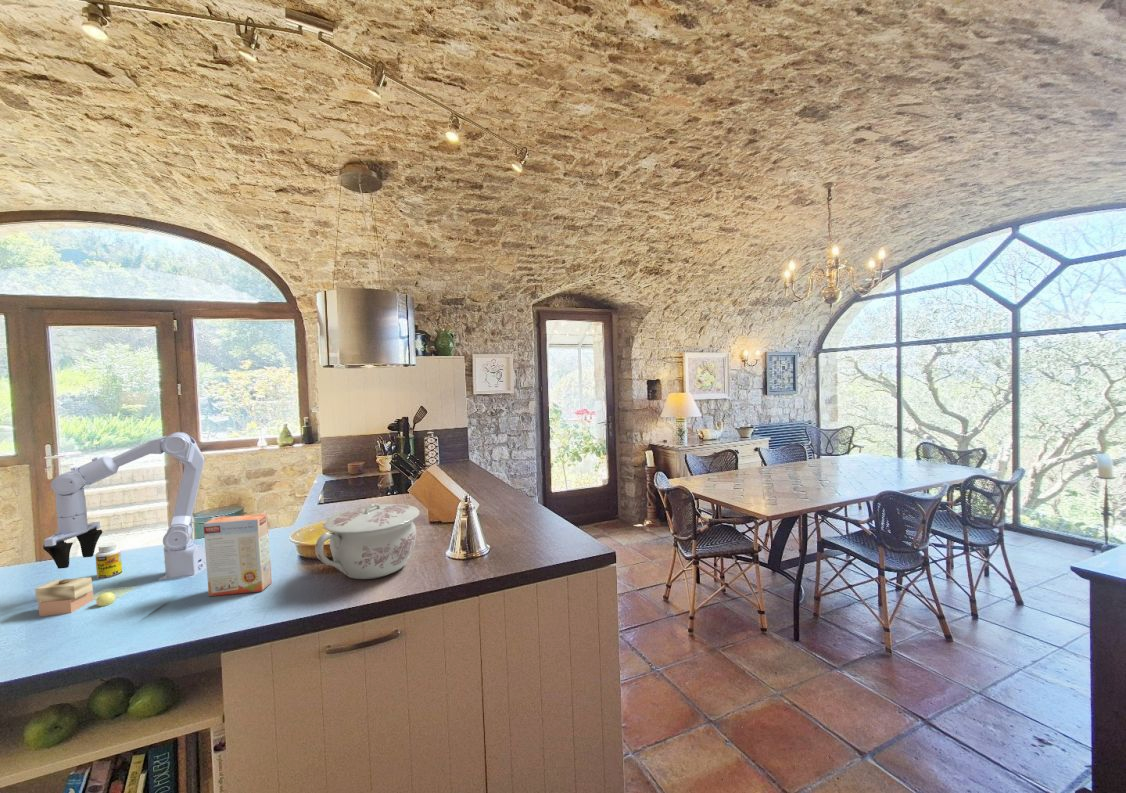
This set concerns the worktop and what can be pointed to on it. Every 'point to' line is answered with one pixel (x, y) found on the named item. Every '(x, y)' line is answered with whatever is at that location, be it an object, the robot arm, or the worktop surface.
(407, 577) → the worktop surface
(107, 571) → the supplement bottle
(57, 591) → the lid
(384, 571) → the chamber pot
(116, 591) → the mat
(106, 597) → the yellow ball
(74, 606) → the pink open box
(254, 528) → the cracker box
